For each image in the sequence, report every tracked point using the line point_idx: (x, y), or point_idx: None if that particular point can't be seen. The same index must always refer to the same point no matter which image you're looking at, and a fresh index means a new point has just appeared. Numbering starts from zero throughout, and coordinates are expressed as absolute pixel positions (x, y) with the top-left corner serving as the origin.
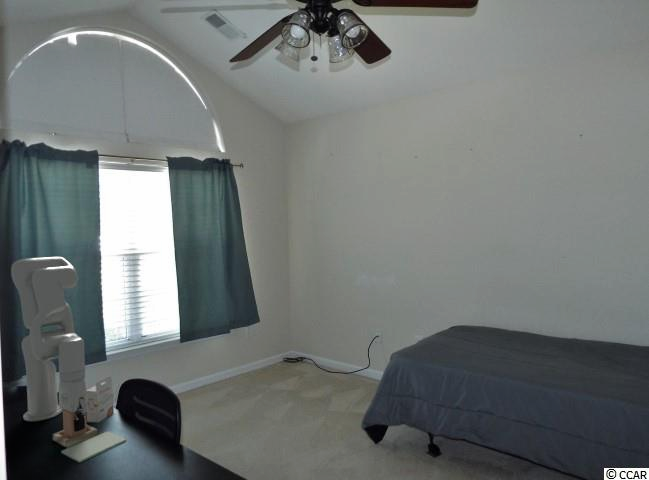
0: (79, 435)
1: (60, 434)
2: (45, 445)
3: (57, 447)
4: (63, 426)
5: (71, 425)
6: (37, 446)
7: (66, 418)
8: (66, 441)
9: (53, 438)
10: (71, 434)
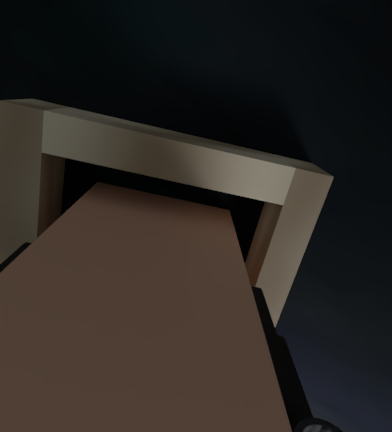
0: (24, 242)
1: (272, 219)
2: (293, 61)
3: (136, 71)
4: (244, 267)
5: (17, 265)
6: (361, 15)
7: (129, 344)
8: (20, 104)
9: (304, 164)
10: (70, 210)
